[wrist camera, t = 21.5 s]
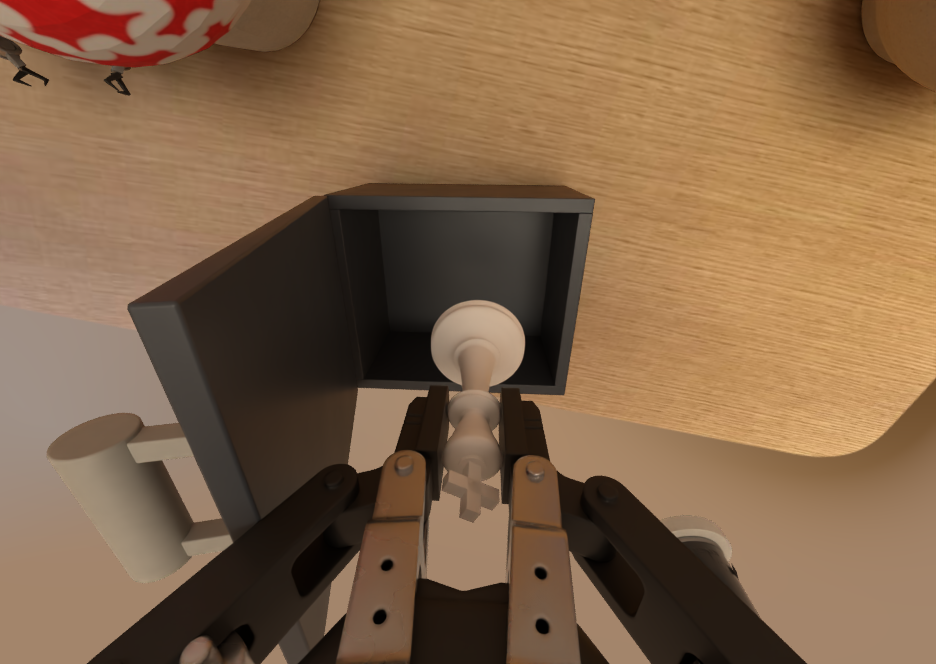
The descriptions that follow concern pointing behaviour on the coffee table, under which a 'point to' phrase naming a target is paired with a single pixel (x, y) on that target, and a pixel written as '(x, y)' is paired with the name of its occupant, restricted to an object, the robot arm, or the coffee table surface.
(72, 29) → the decorative object
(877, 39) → the planter bowl
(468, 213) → the case
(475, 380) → the chess piece
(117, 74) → the figurine
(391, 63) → the coffee table surface
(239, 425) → the lid
